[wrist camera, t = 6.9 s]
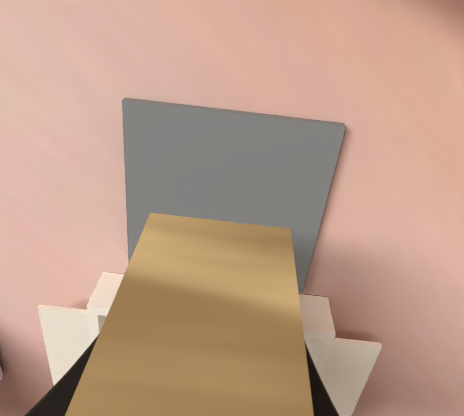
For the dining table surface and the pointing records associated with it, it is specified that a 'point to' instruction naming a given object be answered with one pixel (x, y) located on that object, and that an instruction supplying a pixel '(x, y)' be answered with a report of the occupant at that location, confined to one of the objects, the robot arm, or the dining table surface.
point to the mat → (229, 169)
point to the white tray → (314, 328)
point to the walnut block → (201, 327)
